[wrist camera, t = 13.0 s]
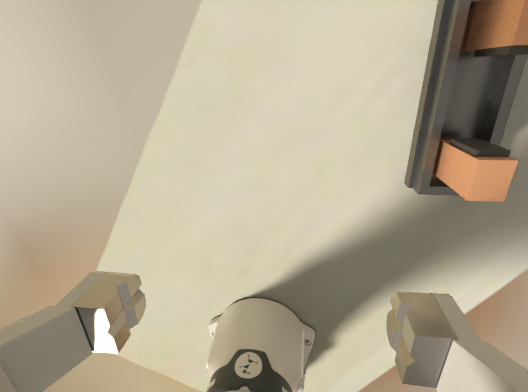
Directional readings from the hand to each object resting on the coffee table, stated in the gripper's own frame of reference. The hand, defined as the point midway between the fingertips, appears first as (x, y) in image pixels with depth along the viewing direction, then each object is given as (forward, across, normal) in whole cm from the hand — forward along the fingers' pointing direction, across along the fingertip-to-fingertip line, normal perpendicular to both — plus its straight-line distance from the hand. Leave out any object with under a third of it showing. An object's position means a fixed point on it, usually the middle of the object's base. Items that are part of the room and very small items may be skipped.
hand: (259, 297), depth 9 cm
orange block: (+28, -18, +3) cm, 33 cm away
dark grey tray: (+29, -18, -3) cm, 35 cm away
